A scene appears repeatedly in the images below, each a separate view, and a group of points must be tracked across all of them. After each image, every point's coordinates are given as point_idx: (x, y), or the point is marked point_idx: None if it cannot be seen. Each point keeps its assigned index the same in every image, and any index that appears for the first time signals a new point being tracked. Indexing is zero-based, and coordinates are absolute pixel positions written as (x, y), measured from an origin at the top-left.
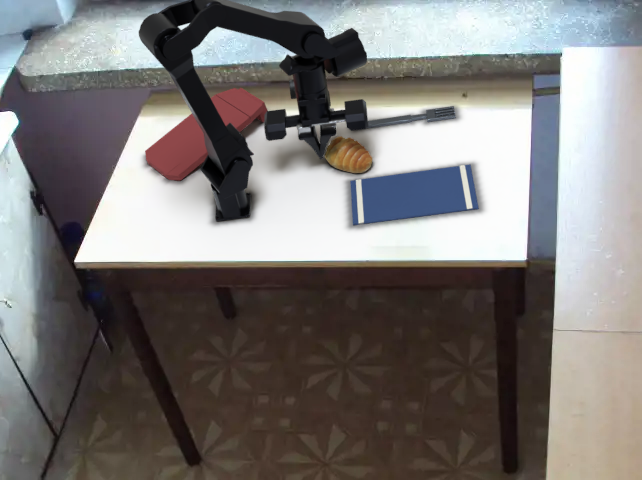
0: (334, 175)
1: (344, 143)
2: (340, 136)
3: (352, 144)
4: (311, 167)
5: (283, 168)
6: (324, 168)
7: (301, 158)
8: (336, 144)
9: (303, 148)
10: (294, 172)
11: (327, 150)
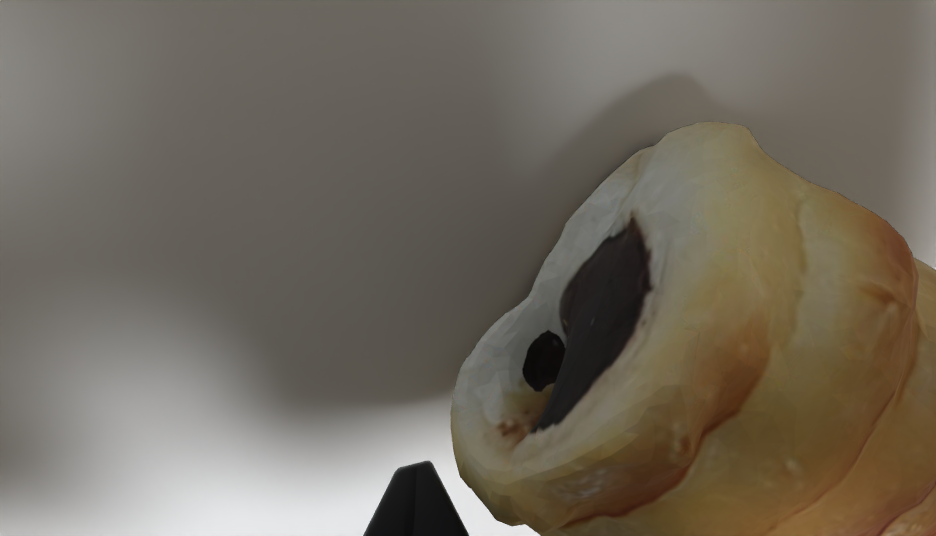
0: None
1: (808, 507)
2: (736, 312)
3: (921, 499)
4: (314, 452)
5: (12, 482)
6: (453, 455)
7: (133, 337)
8: (665, 498)
9: (50, 150)
10: (167, 517)
11: (514, 521)
